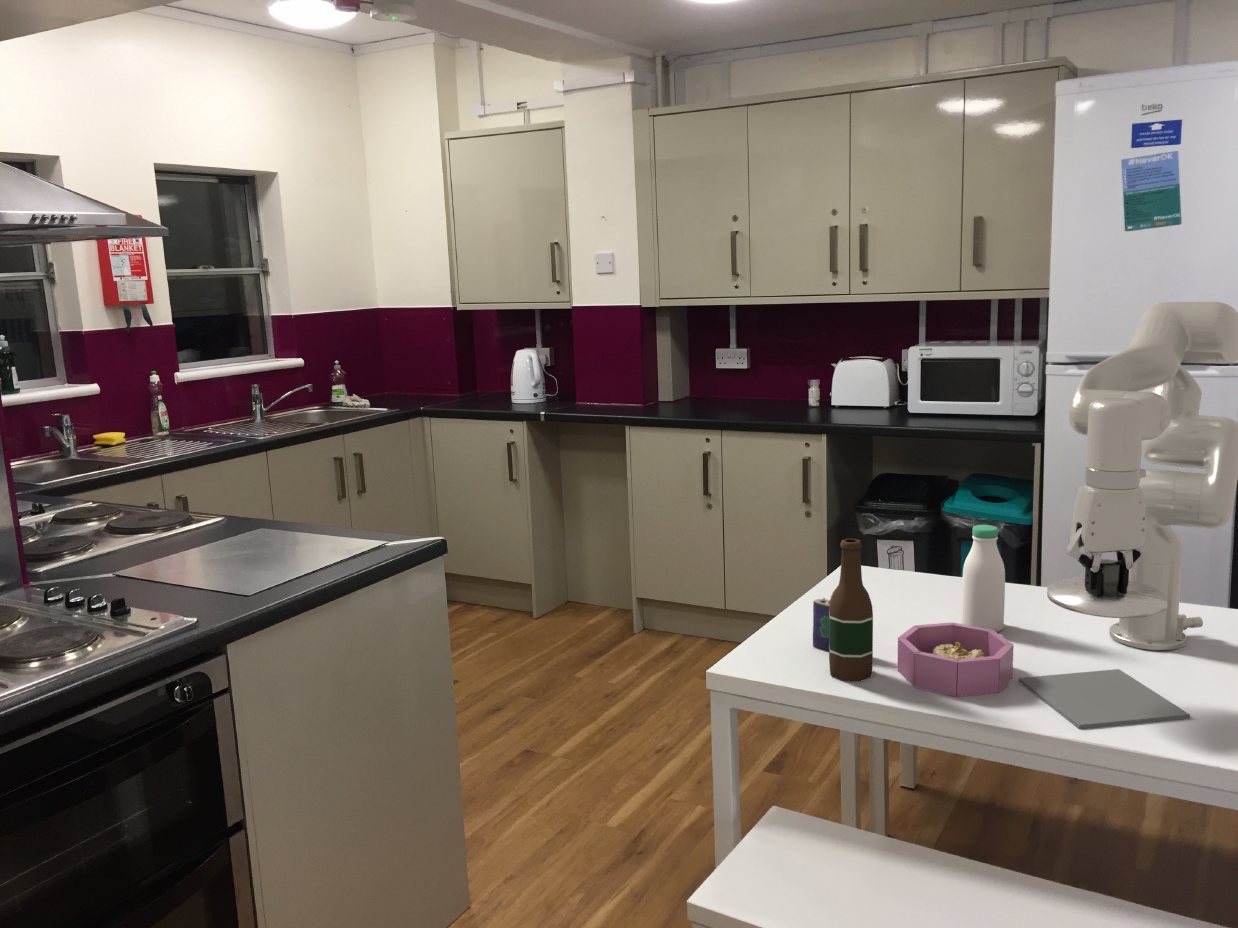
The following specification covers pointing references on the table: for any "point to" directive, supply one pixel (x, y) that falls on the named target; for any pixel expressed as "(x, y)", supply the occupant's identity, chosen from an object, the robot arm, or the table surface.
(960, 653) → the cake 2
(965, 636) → the pink octagonal dish
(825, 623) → the flask
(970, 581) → the milk bottle
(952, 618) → the table surface
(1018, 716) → the table surface
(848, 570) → the beer bottle
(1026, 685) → the mat
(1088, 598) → the lid
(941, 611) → the table surface
